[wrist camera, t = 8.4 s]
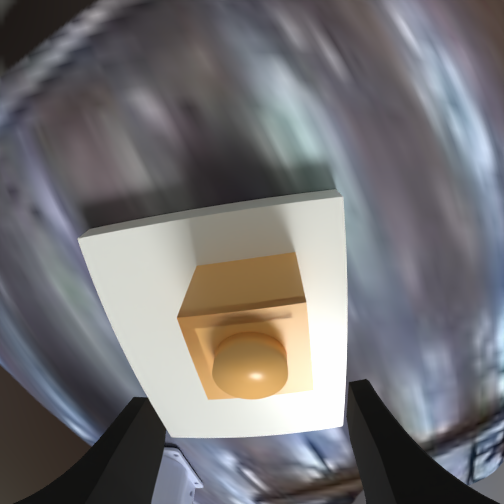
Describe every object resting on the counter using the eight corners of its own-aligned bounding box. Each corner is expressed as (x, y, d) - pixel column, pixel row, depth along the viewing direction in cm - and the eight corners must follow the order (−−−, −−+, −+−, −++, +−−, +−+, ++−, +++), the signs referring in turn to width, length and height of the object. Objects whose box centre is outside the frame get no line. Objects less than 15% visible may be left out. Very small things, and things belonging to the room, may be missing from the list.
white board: (339, 412, 23) (342, 426, 22) (174, 423, 24) (171, 437, 23) (336, 189, 16) (343, 196, 15) (89, 228, 17) (77, 238, 16)
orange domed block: (304, 331, 18) (316, 406, 13) (218, 341, 18) (205, 415, 13) (295, 252, 16) (309, 318, 11) (196, 265, 16) (170, 333, 11)
